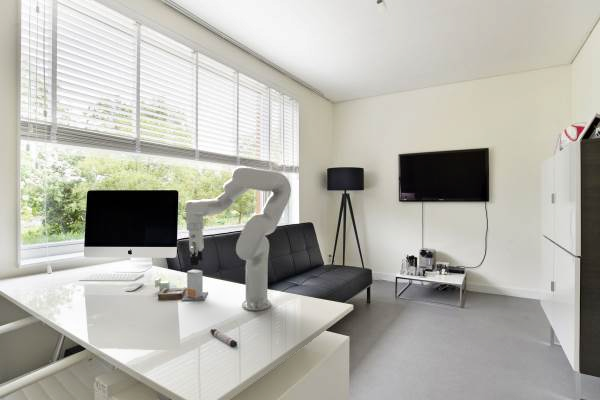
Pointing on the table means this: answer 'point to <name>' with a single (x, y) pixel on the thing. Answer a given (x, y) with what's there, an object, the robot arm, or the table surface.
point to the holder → (165, 295)
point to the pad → (201, 298)
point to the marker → (224, 337)
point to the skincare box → (194, 283)
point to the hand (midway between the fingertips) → (196, 262)
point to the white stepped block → (161, 284)
